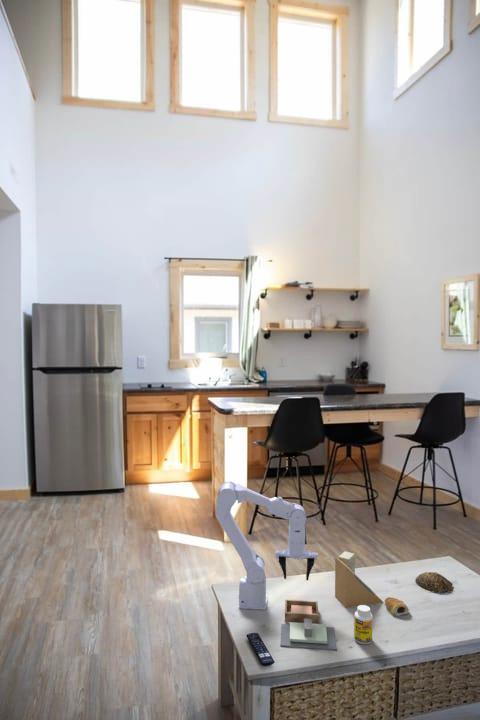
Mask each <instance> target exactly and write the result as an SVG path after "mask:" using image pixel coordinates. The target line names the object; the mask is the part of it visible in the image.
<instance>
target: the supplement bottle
mask: <svg viewBox="0 0 480 720" xmlns="http://www.w3.org/2000/svg"><path fill="white" fill-rule="evenodd" d="M353 617H354V621H353V622H354V623H353V624H354V625H353V627H354V628H353V639H354V640H355V642H357V643H359V644H362V645H368V644H371V642H373V626H374V625H373V623H374V616H373V613H372V612H371V608H370V606H369V605H359V606H358V607H356V611H355V612H354V616H353Z"/></svg>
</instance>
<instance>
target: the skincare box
mask: <svg viewBox="0 0 480 720" xmlns="http://www.w3.org/2000/svg"><path fill="white" fill-rule="evenodd" d="M337 558H338V559H339V560H341V561H342V562H343V563H344V564H345V565H346V566H348V567H349V568H350V569H351V570H352V571H353V572H354V573H355V574H356V553H353V552H349V551H346V550H345V551H343V552H342V553H341V554H340V555H339V556H338V557H337Z"/></svg>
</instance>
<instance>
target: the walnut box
mask: <svg viewBox="0 0 480 720" xmlns="http://www.w3.org/2000/svg"><path fill="white" fill-rule="evenodd" d="M284 603H285V604H284V606H285V607H284V622H285V623H290V622H294V623H304V618H306V619H312V624H319V605H318V601H315V600H298V599H285V602H284Z"/></svg>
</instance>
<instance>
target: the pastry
mask: <svg viewBox="0 0 480 720" xmlns="http://www.w3.org/2000/svg"><path fill="white" fill-rule="evenodd" d="M384 605H385V607H386V610H387V611H389V614H391V615H392V616H393V617H394V616H395V617H398V616H404V615H407V614H409V608H408V606H407V604H406V603H405V602H404V601H403V600H401V599H399V598H395V597H389V596H388V597H386V598H385V599H384Z"/></svg>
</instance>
